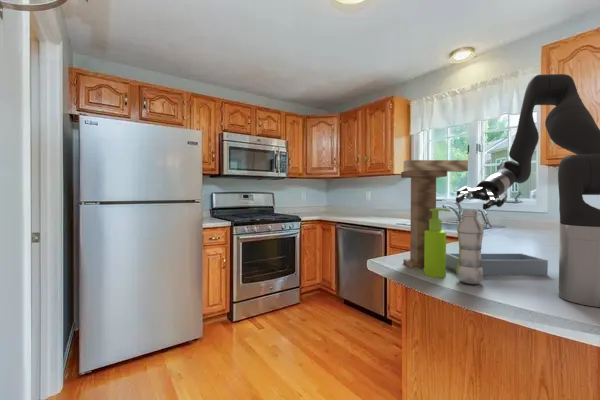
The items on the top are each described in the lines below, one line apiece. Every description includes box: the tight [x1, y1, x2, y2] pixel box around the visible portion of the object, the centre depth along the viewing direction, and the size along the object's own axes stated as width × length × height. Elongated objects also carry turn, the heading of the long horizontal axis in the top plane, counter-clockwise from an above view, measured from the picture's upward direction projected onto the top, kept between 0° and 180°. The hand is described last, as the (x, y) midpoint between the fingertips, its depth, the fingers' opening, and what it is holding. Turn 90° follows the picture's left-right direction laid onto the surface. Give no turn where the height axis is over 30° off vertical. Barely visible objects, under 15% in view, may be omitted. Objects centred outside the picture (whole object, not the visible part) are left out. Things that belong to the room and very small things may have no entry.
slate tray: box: [446, 252, 549, 276], centre depth 94 cm, size 26×11×4 cm, turn 90°
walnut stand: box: [400, 170, 448, 270], centre depth 99 cm, size 12×8×32 cm, turn 90°
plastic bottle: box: [455, 209, 485, 285], centre depth 80 cm, size 6×7×20 cm
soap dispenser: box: [423, 207, 451, 278], centre depth 89 cm, size 6×7×20 cm
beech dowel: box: [403, 159, 469, 173], centre depth 99 cm, size 20×4×4 cm, turn 90°
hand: (470, 203), depth 98 cm, fingers open, 8 cm apart
